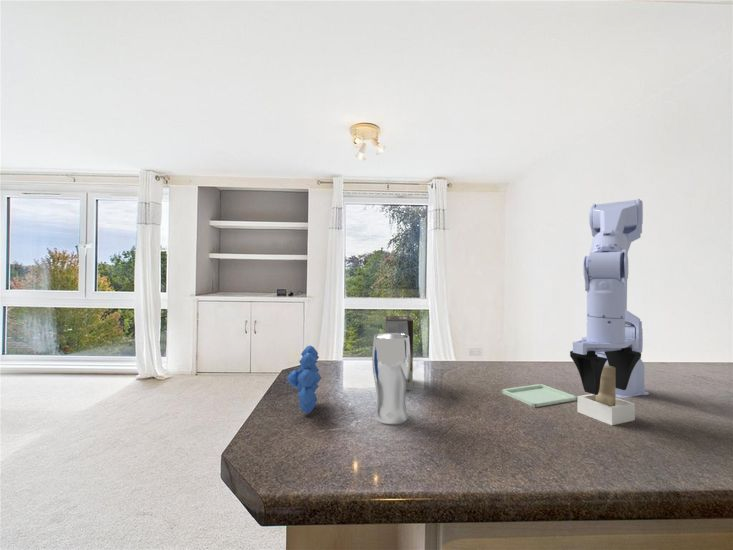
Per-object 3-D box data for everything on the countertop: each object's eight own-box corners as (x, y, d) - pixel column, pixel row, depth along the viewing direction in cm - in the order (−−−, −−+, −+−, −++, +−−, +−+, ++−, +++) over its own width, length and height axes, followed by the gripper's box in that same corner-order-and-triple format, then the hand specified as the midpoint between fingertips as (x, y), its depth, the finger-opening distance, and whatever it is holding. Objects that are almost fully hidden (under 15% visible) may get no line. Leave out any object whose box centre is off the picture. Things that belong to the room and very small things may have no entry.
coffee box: (413, 390, 75) (414, 320, 76) (385, 390, 76) (386, 319, 76) (409, 378, 85) (409, 315, 85) (384, 378, 85) (385, 315, 85)
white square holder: (599, 410, 65) (599, 392, 65) (634, 423, 59) (634, 403, 59) (577, 414, 63) (577, 396, 63) (611, 428, 57) (611, 408, 57)
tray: (541, 388, 77) (541, 383, 77) (577, 402, 69) (577, 396, 69) (500, 395, 73) (500, 389, 73) (534, 410, 65) (534, 404, 65)
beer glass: (413, 413, 63) (413, 334, 63) (405, 428, 56) (406, 340, 56) (378, 408, 65) (378, 331, 65) (366, 422, 58) (367, 337, 59)
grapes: (290, 398, 70) (291, 341, 70) (322, 397, 70) (323, 341, 71) (280, 422, 58) (281, 354, 58) (319, 421, 59) (320, 353, 59)
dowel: (602, 411, 63) (602, 364, 63) (619, 417, 60) (619, 368, 60) (591, 413, 62) (591, 365, 62) (608, 420, 59) (608, 369, 59)
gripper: (609, 313, 67) (608, 380, 67) (557, 315, 62) (557, 388, 62) (649, 317, 61) (649, 391, 61) (595, 319, 56) (595, 401, 55)
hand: (605, 390), depth 61 cm, fingers open, 7 cm apart
